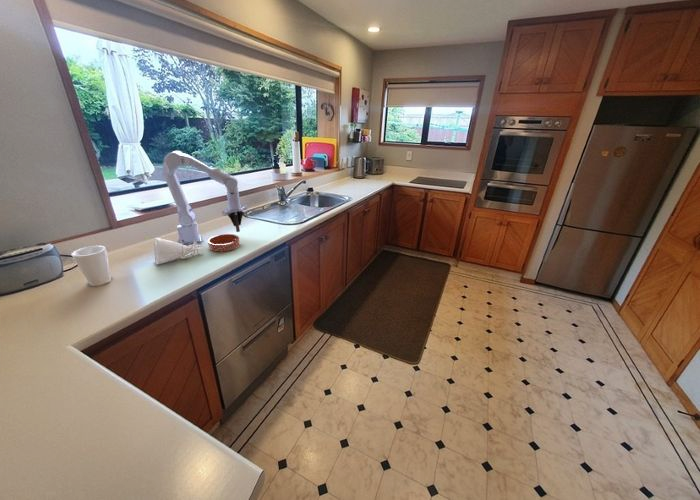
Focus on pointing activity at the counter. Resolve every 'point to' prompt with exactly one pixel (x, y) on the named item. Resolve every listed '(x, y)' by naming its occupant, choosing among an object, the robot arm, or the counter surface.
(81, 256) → the foam cup
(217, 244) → the bowl
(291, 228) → the counter surface
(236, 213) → the stick
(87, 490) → the counter surface
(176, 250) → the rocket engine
